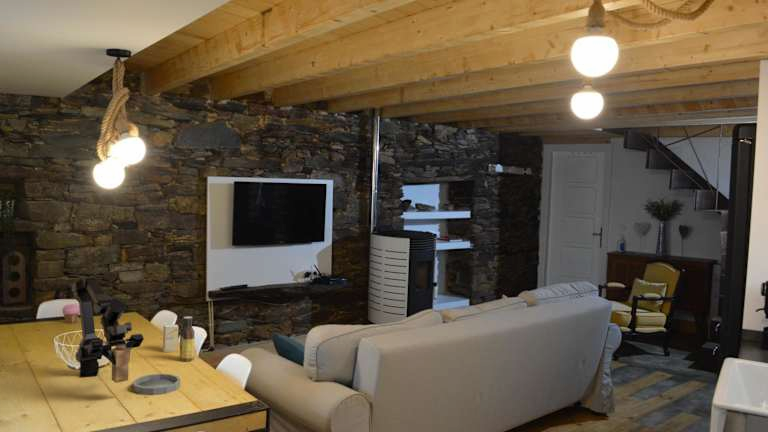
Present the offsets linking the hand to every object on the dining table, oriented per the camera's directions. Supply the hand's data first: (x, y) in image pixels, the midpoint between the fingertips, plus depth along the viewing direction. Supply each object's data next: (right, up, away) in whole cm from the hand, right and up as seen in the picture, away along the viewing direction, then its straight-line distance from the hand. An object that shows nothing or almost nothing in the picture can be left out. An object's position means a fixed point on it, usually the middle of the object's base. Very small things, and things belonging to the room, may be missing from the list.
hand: (121, 363), depth 219 cm
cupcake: (-75, -4, +107) cm, 131 cm away
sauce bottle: (+7, -11, +51) cm, 53 cm away
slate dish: (+7, -13, +15) cm, 21 cm away
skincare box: (-5, -10, +64) cm, 65 cm away
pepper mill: (-1, -6, +1) cm, 7 cm away
